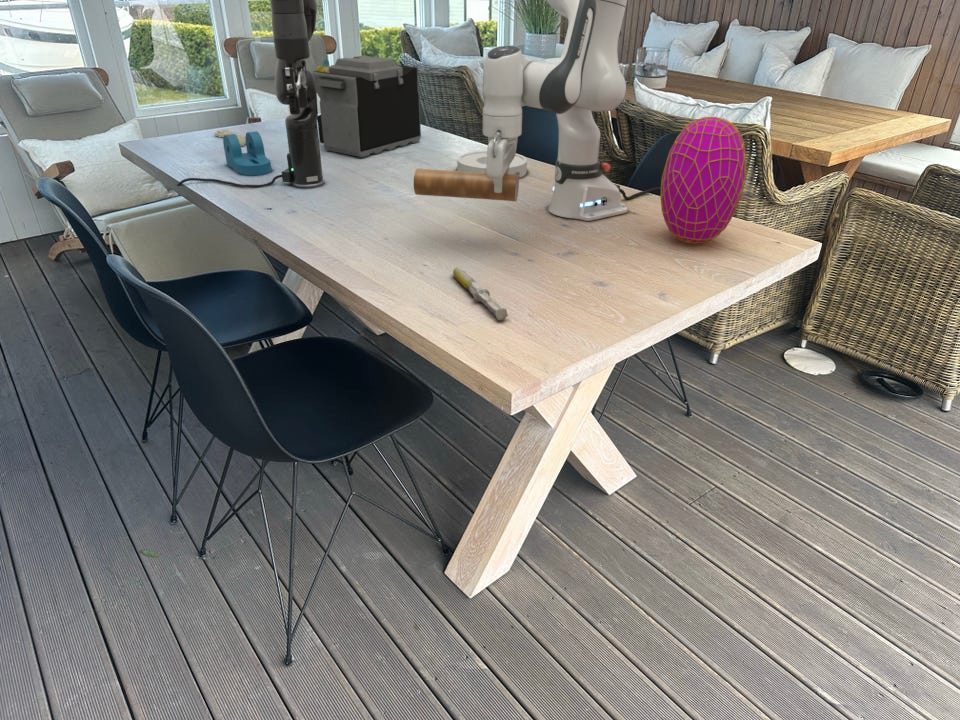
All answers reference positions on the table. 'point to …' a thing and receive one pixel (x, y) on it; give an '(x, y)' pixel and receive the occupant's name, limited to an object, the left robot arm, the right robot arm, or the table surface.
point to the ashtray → (479, 163)
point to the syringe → (479, 293)
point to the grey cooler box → (368, 105)
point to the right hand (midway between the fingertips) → (501, 187)
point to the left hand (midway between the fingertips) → (299, 110)
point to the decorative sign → (226, 132)
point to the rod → (464, 185)
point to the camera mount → (246, 154)
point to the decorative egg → (703, 179)
